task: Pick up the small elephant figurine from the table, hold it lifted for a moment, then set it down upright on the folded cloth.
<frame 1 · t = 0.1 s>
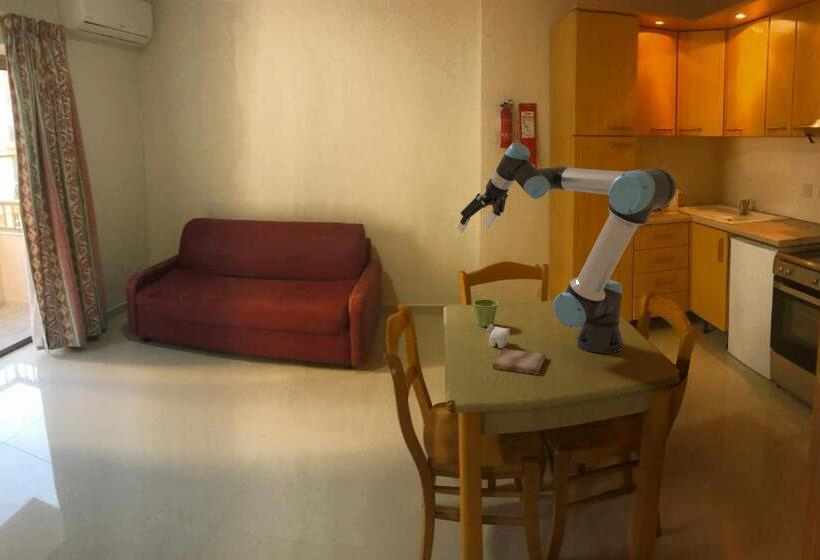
hand: (473, 227, 232), 36 cm above the table, tool tilted 35°, fingers open, 13 cm apart
plant pot: (485, 325, 236), on the table
folded cloth: (519, 363, 200), on the table
elephant figurine: (499, 345, 216), on the table
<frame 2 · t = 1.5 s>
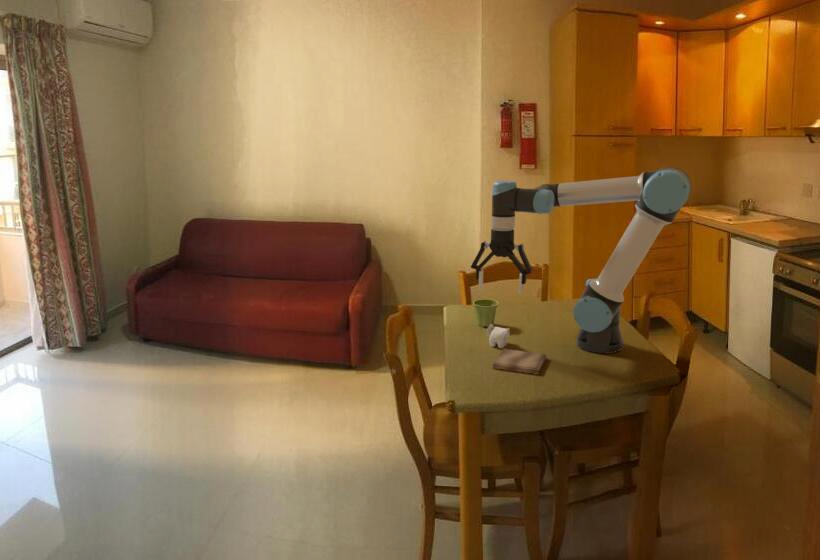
hand: (500, 291, 212), 19 cm above the table, tool pointing down, fingers open, 13 cm apart
nothing on the table moved.
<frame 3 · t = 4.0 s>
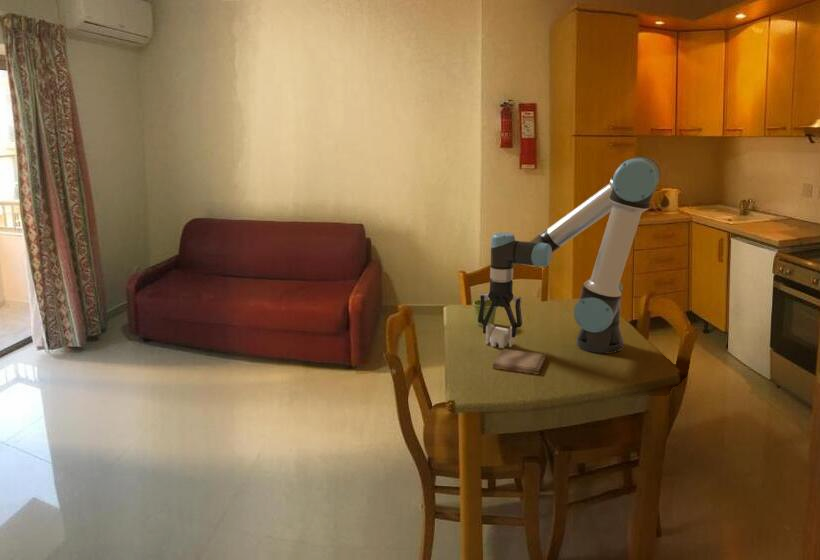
hand: (499, 344, 216), 0 cm above the table, tool pointing down, fingers closed on elephant figurine, 7 cm apart
elephant figurine: (500, 345, 216), on the table, touching gripper
everything else where it was.
when the fingers open (3 cm above the table, at t = 10.8 s): elephant figurine drops 1 cm, resting on folded cloth.
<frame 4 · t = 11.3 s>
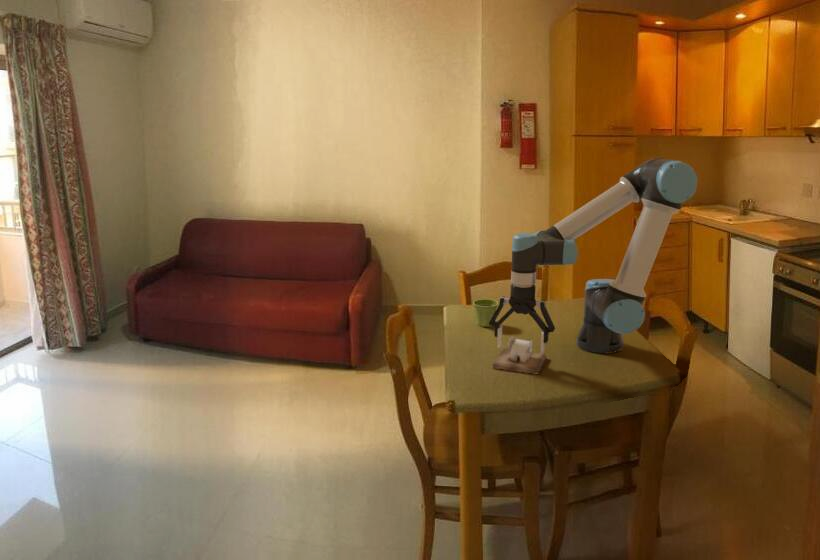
hand: (520, 349, 198), 5 cm above the table, tool pointing down, fingers open, 13 cm apart
elephant figurine: (521, 359, 199), point 1 cm above the table, touching folded cloth
everything else where it was.
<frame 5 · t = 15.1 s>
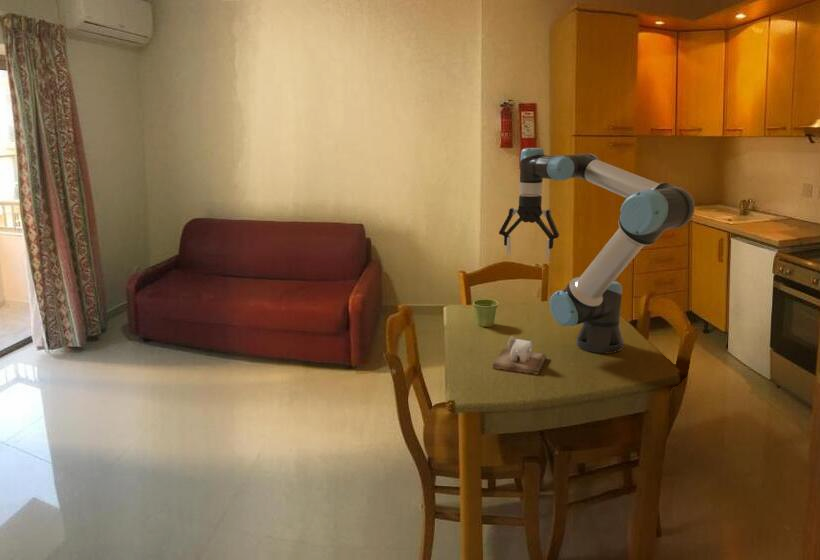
hand: (527, 256, 218), 29 cm above the table, tool pointing down, fingers open, 13 cm apart
nothing on the table moved.
at the end: elephant figurine inside the target area on the folded cloth (0.3 cm from its centre), point 1.5 cm above the folded cloth's base; elephant figurine tilted 0°; the gripper is holding nothing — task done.
